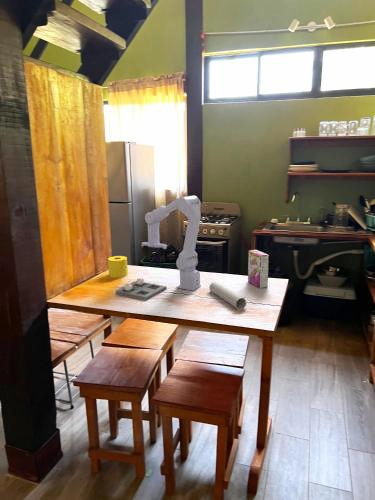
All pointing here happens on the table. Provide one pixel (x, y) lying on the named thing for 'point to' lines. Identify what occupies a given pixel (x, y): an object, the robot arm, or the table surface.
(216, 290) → the tube
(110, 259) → the tape roll
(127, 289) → the pin
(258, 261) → the candy bar box
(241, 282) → the table surface
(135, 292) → the hole board
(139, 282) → the loose pin
